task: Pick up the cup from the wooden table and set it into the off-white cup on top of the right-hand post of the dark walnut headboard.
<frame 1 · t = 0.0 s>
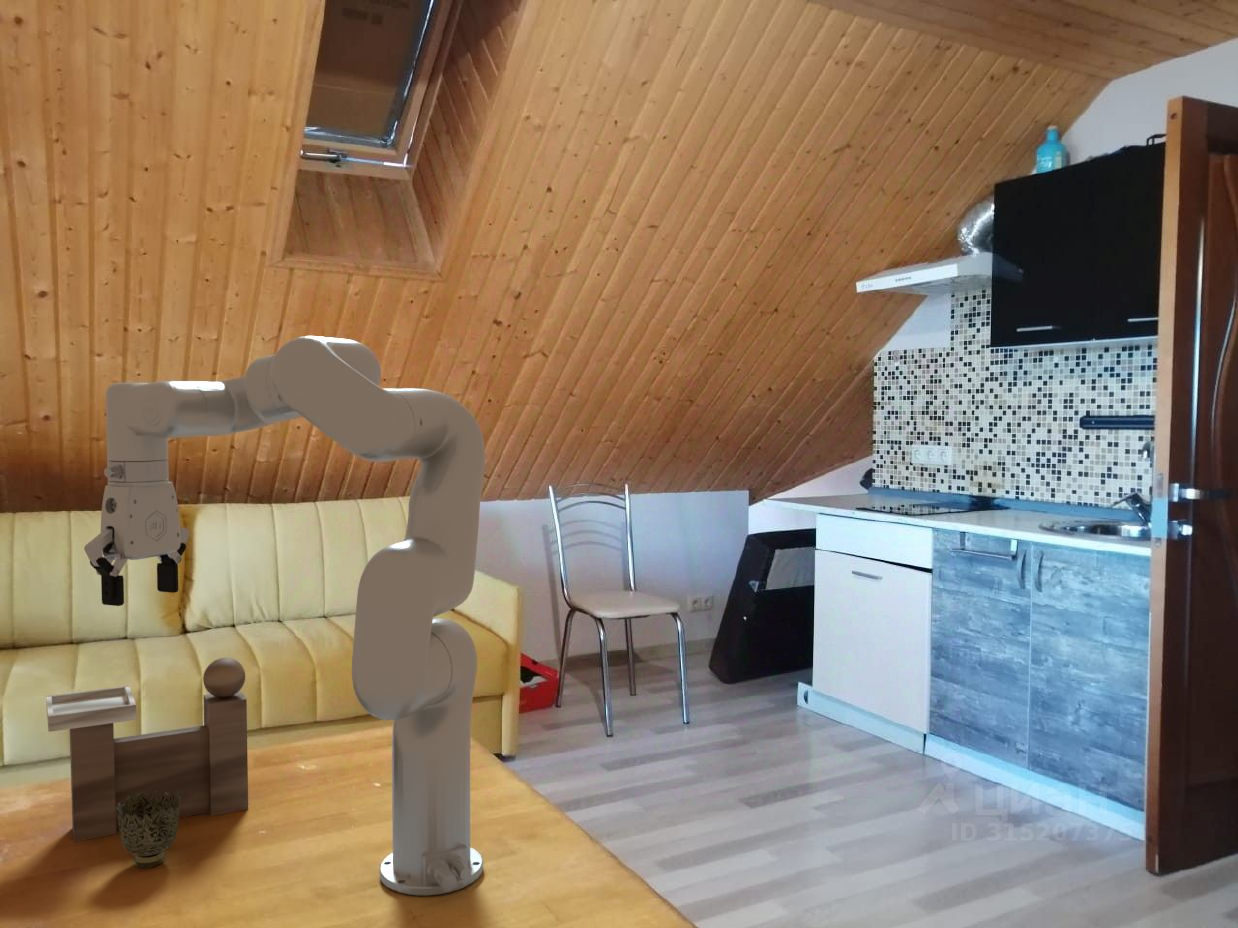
hand: (141, 598, 140), 31 cm above the table, tool pointing down, fingers open, 9 cm apart
headboard: (162, 818, 142), on the table
cup: (150, 864, 129), on the table
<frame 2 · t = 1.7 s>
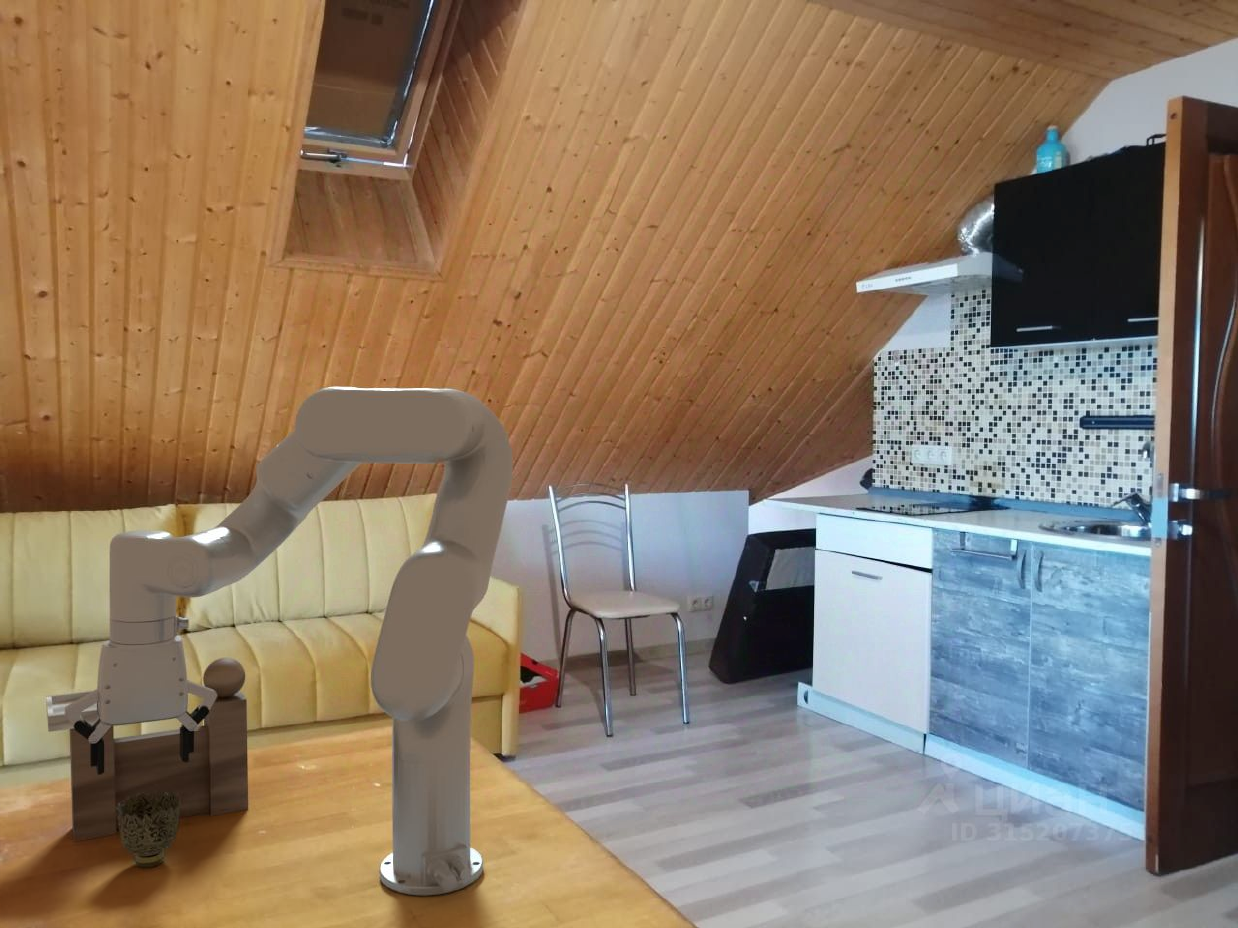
hand: (142, 764, 128), 13 cm above the table, tool pointing down, fingers open, 9 cm apart
nothing on the table moved.
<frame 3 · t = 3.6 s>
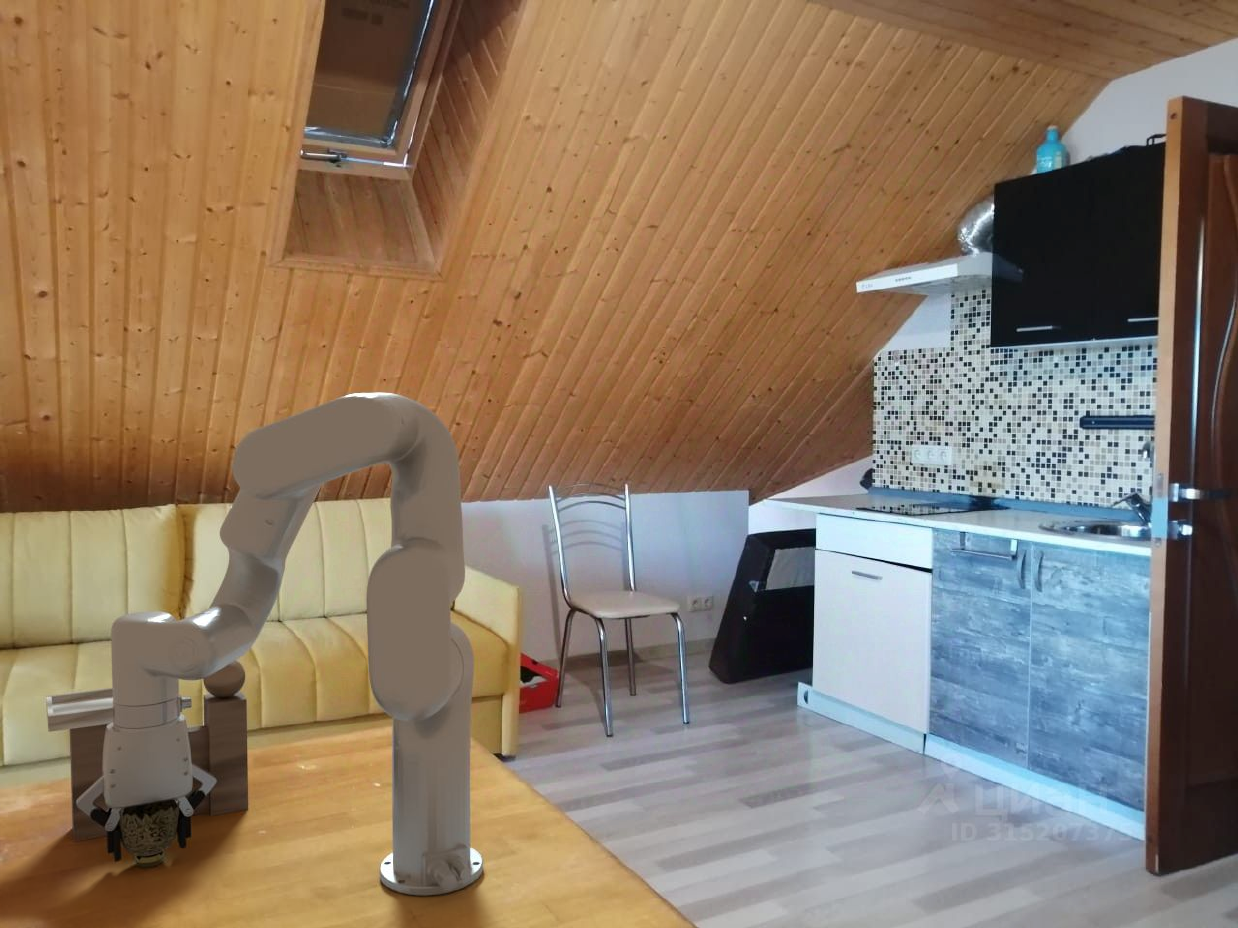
hand: (149, 849, 129), 2 cm above the table, tool pointing down, fingers closed on cup, 6 cm apart
cup: (149, 864, 129), on the table, touching gripper
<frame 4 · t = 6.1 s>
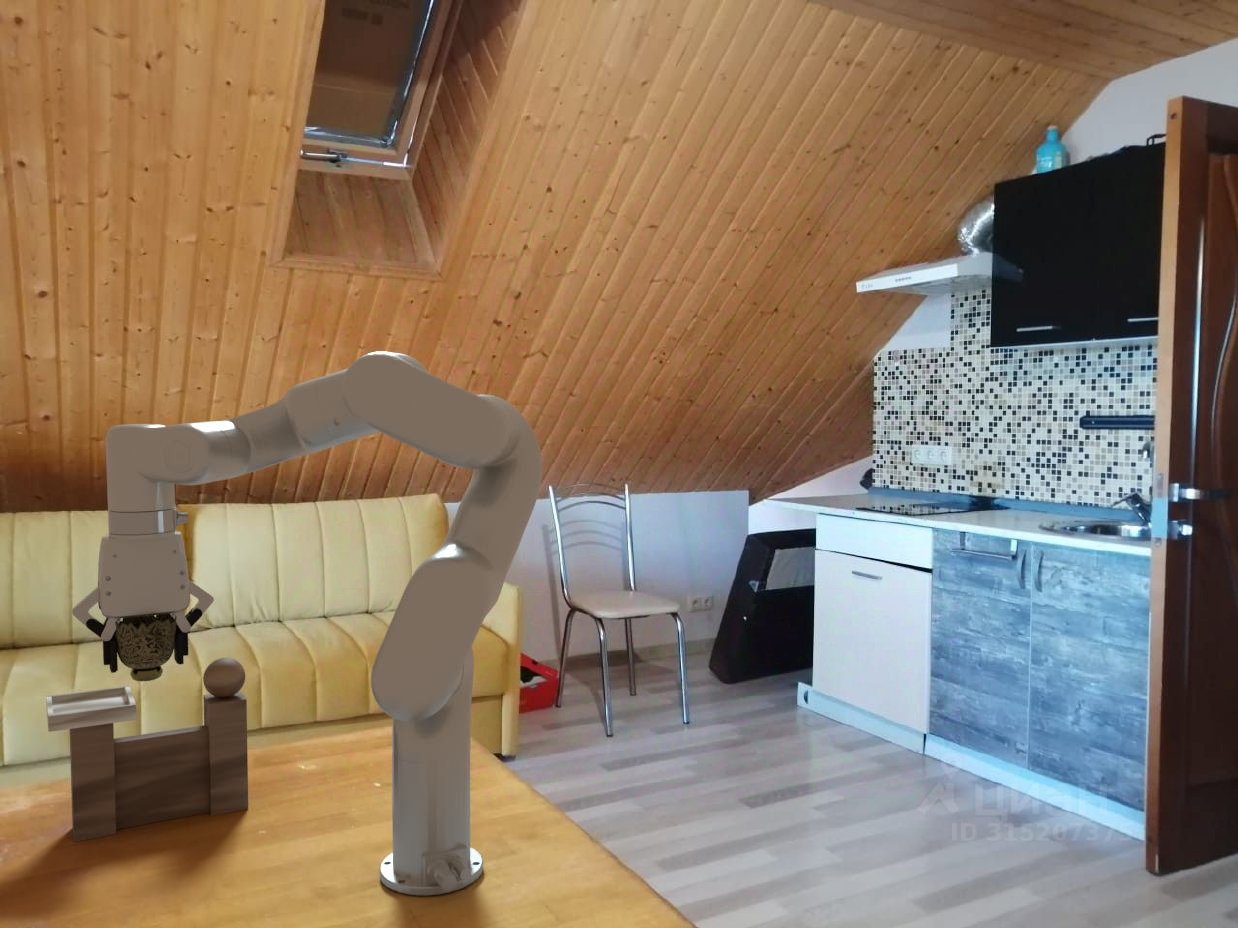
hand: (146, 664, 127), 25 cm above the table, tool pointing down, fingers closed on cup, 6 cm apart
cup: (146, 680, 127), point 23 cm above the table, touching gripper
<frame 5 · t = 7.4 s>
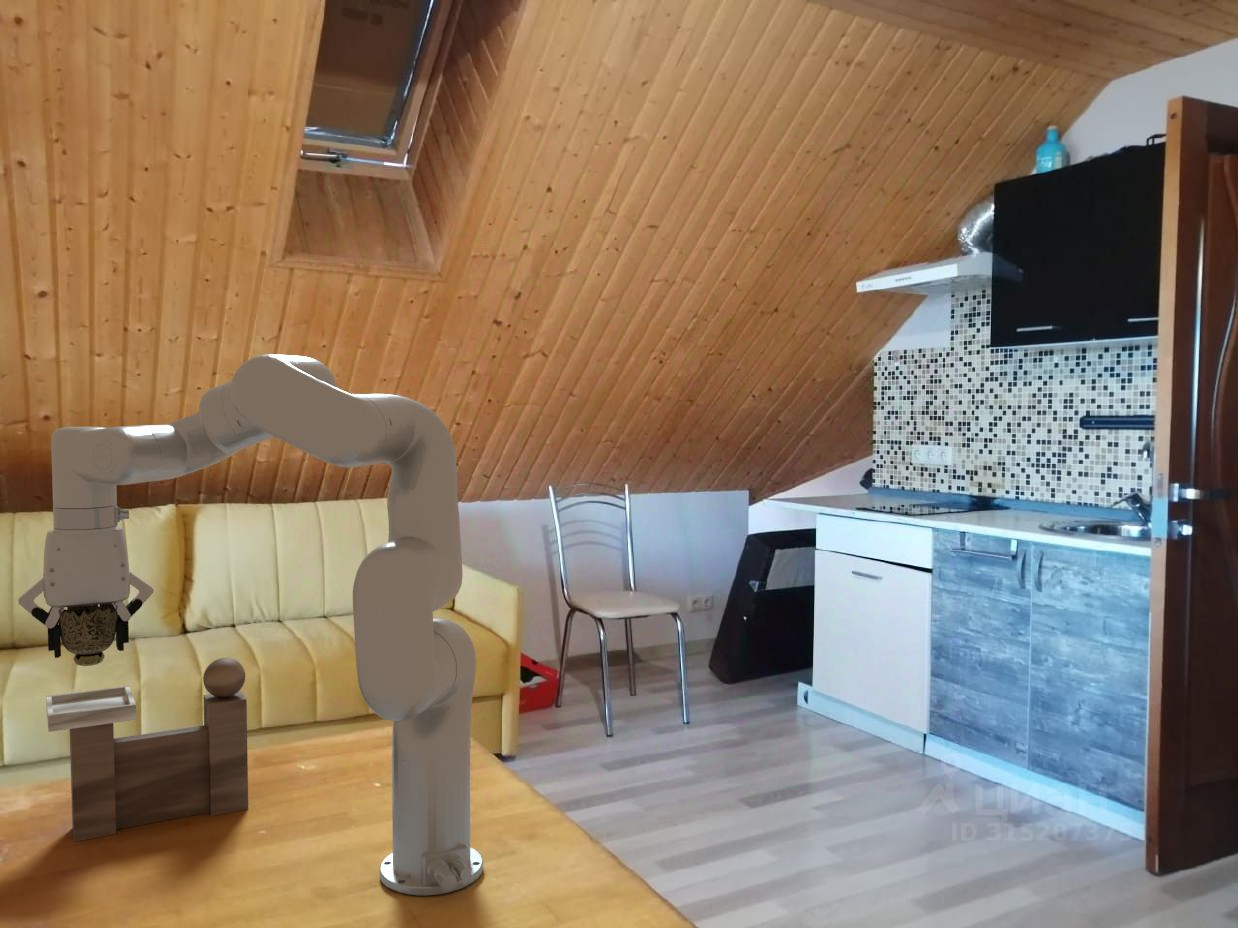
hand: (89, 650, 137), 25 cm above the table, tool pointing down, fingers closed on cup, 6 cm apart
cup: (89, 665, 137), point 23 cm above the table, touching gripper
when the fingers open (20 cm above the table, at t = 8.7 s): cup drops 1 cm, resting on headboard.
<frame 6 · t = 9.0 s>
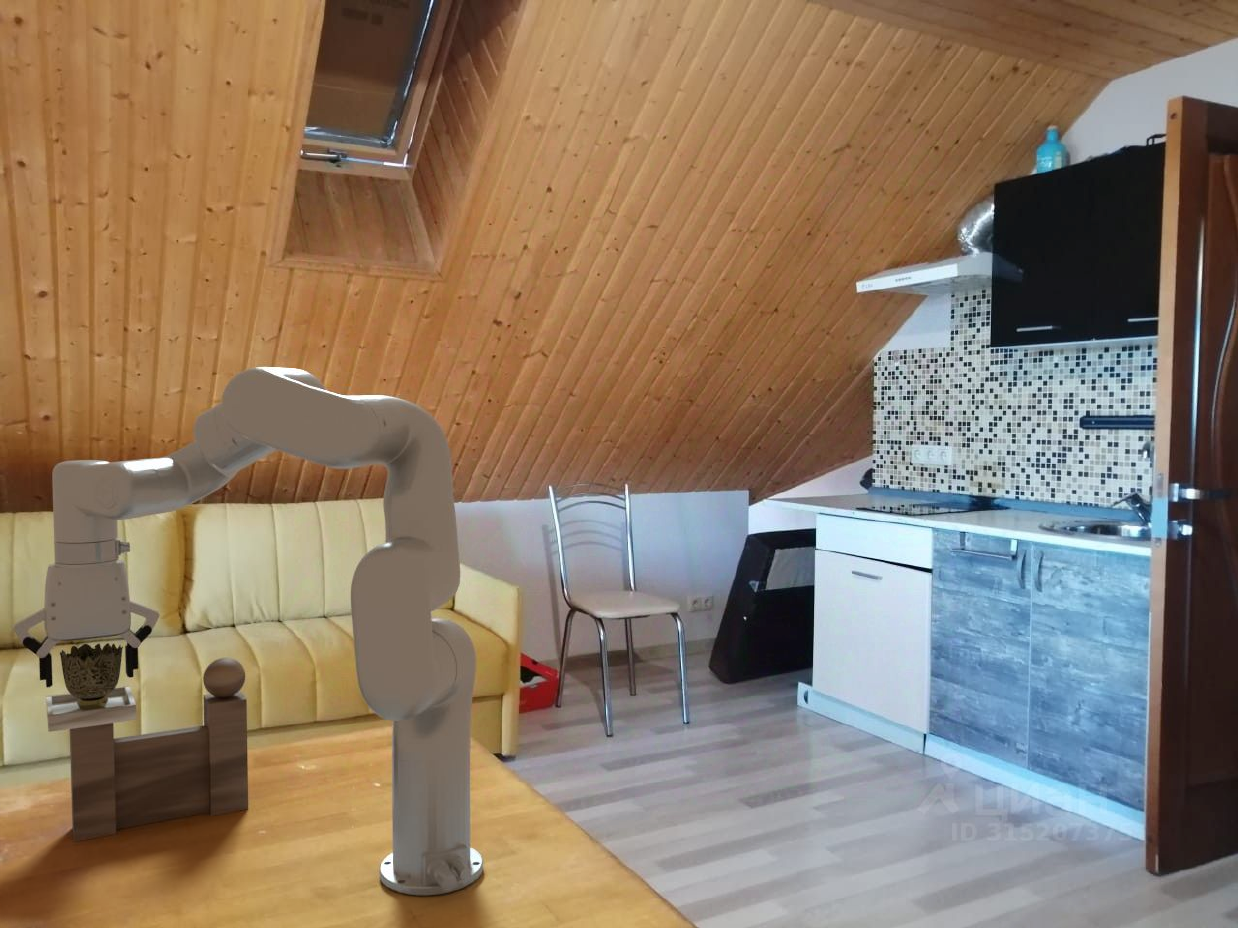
hand: (90, 679, 137), 21 cm above the table, tool pointing down, fingers open, 9 cm apart
cup: (92, 708, 137), point 17 cm above the table, touching headboard
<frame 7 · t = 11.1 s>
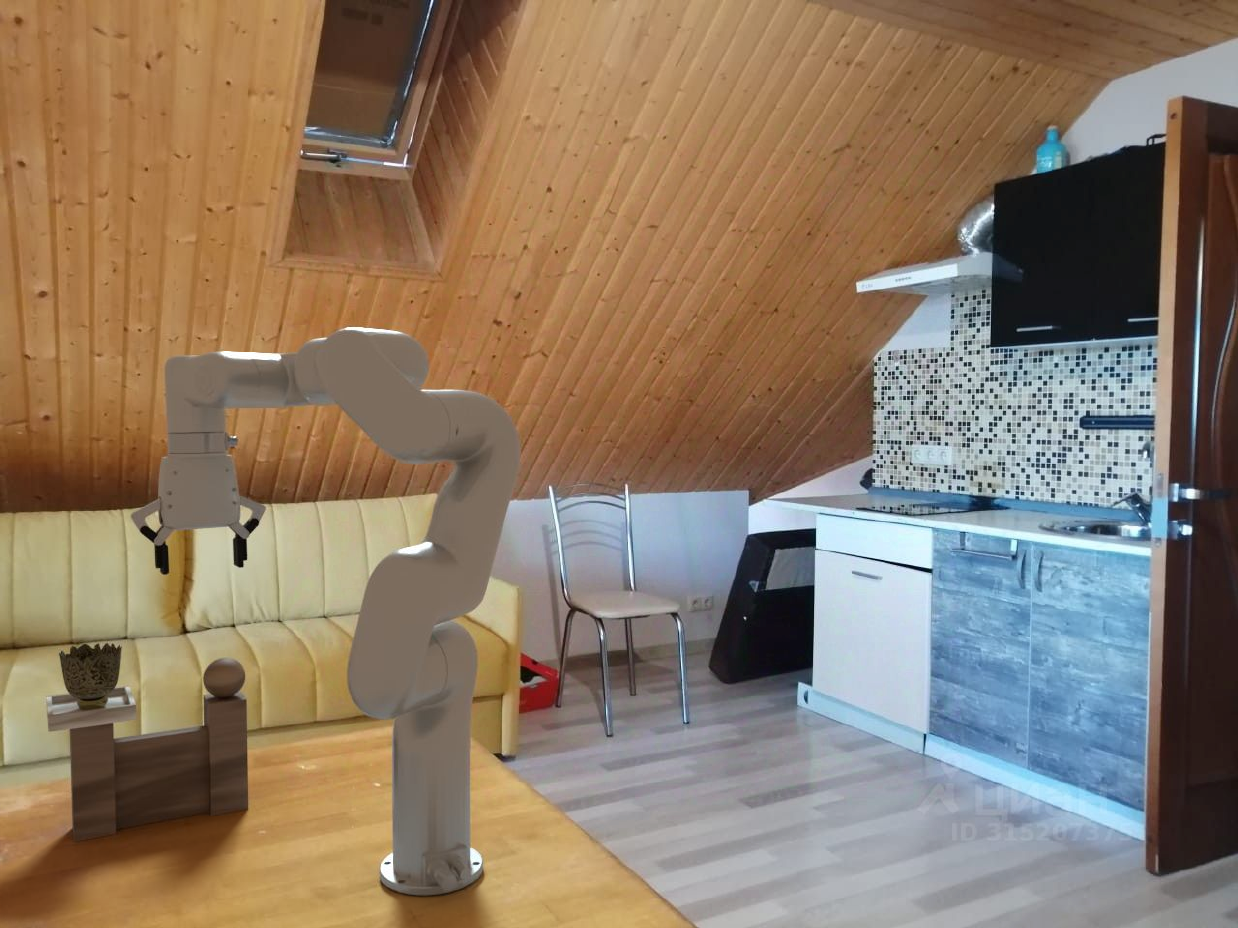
hand: (202, 569, 141), 35 cm above the table, tool pointing down, fingers open, 9 cm apart
nothing on the table moved.
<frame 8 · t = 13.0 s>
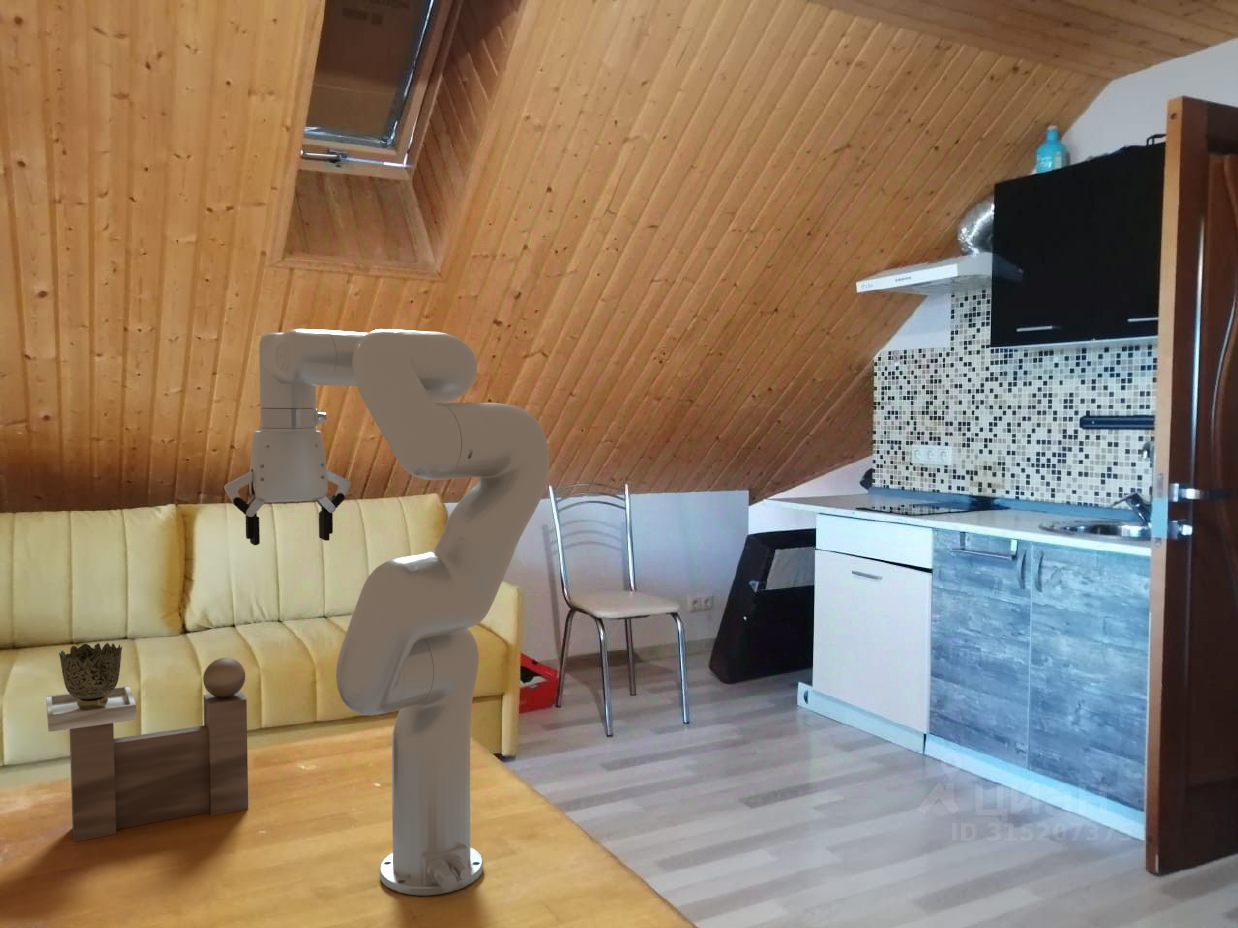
hand: (290, 541, 145), 38 cm above the table, tool pointing down, fingers open, 9 cm apart
nothing on the table moved.
at the end: cup 0.3 cm from the target spot on the headboard, point 16.8 cm above the headboard's base; cup tilted 0°; the gripper is holding nothing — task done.
